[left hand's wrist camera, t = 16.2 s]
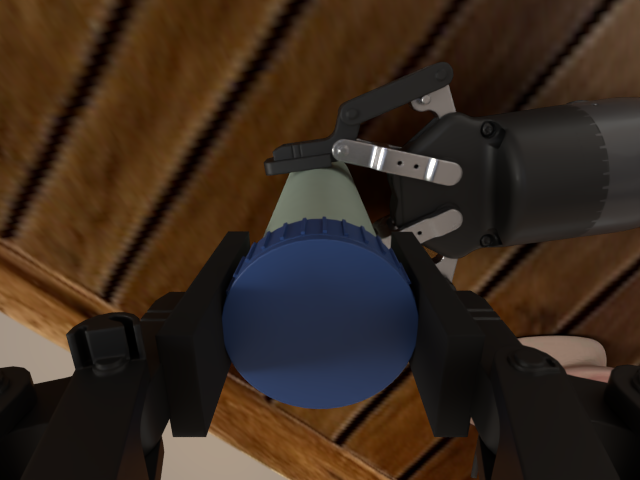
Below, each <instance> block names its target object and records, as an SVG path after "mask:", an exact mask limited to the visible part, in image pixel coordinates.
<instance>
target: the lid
mask: <svg viewBox="0 0 640 480" xmlns="http://www.w3.org/2000/svg"><path fill="white" fill-rule="evenodd" d="M409 284H411V282H410V280H409V278H408V276H407V274H406V272H405V270H404V268H403V266H402V264H401V262H400V263H399V262H398V259H397V257H396V255H395V253H394V251H393V250H392V248H390V249H388V248H387V246H386V245H384V244H383V243H382V240H381V238H380V237H379V236H378V235H377V236H376V237H375V236H374V235H372V234H371V233H370V232H368V231H366V230H365V228H364V226H362V225H361V226H360V227H358V226H356V225H353V224H350V223H348V222H346V220H345V219H342V221H339V220H333V219H326V217H324V216H323V217H322V219H306V218H303V219H302V220H301V221H297V222H293V223H290V224H288V223H287V222H286V223H284V224H283V226H282V227H280V228H278V229H276V230H274V231H273V232H270V231H268V232H267V233H266V235H265V237H264V238H263V239H261V240H260V241H259V242H258V243H257V244H256V243H255V242H254V243H253V244H252V246H251V248H250V251H249V253H248V255H247V256H246V257H244V256H243V257H242V259H241V261H240V263H239V265H238V267H237V269H236V271H235V273H234V275H233V278H232V280H231V282H230V284H229V286H228V288H227V290H226V293H225V294H227V297H226V300H225V302H224V306H223V311H222V325H223V335H224V343H225V348H226V351H227V353H228V355H229V357H230V360H231V361H232V363H233V364H234V366H235V368H236V369H237V370H238V372H239V373H240V374H241V375H242V376H243V378H245V379H246V380H247V381H248V382H249V383H250V384H251V385H252V386H253V387H255V388H256V389H258V390H259V391H260V392H262V393H264V394H265V395H267V396H269V397H271V398H273V399H275V400H278V401H280V402H283V403H286V404H289V405H293V406H298V407H303V408H313V409H329V408H337V407H343V406H347V405H351V404H354V403H357V402H360V401H363V400H365V399H367V398H369V397H371V396H373V395H375V394H377V393H378V392H380V391H381V390H383V389H384V388H385V387H387V386H388V385H389V384H391V383H392V382H393V381H394V380H395V379H396V378H397V377H398V376H399V375H400V373H401V372H402V371H403V369H404V368H405V367H406V365H407V363H408V362H409V360H410V358H411V356H412V354H413V351H414V349H415V346H416V338H417V329H418V309H417V305H416V301H415V300H416V298H415V296H414V294H413V292H412V289H411V287H410V285H409Z"/></svg>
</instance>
